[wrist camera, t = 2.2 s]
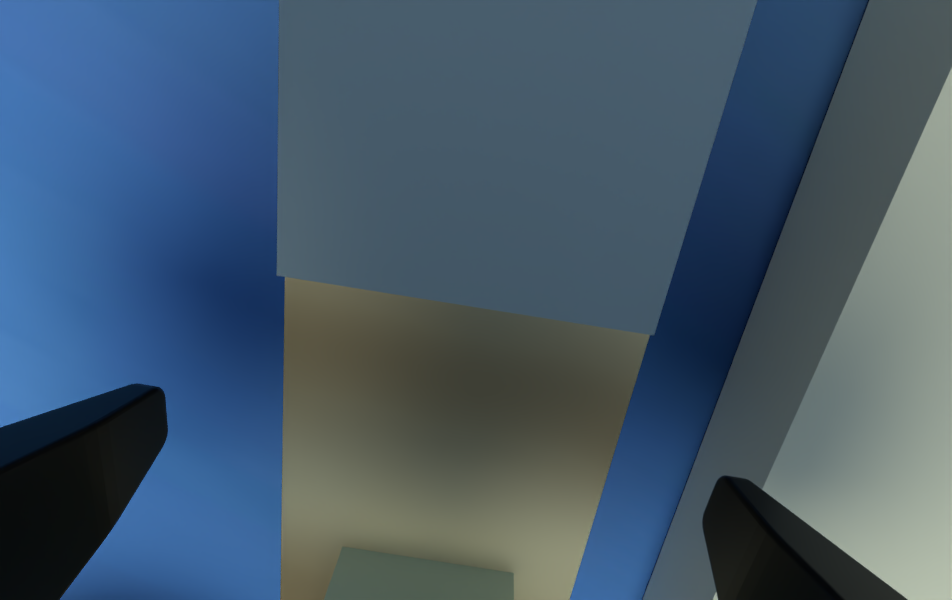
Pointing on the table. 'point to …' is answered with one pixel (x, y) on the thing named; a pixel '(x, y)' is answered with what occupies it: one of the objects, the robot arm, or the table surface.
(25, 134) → the table surface
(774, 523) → the robot arm
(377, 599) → the grey-green cube
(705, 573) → the dock
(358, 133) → the blue-grey cube
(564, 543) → the wooden block
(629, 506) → the table surface
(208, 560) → the table surface
